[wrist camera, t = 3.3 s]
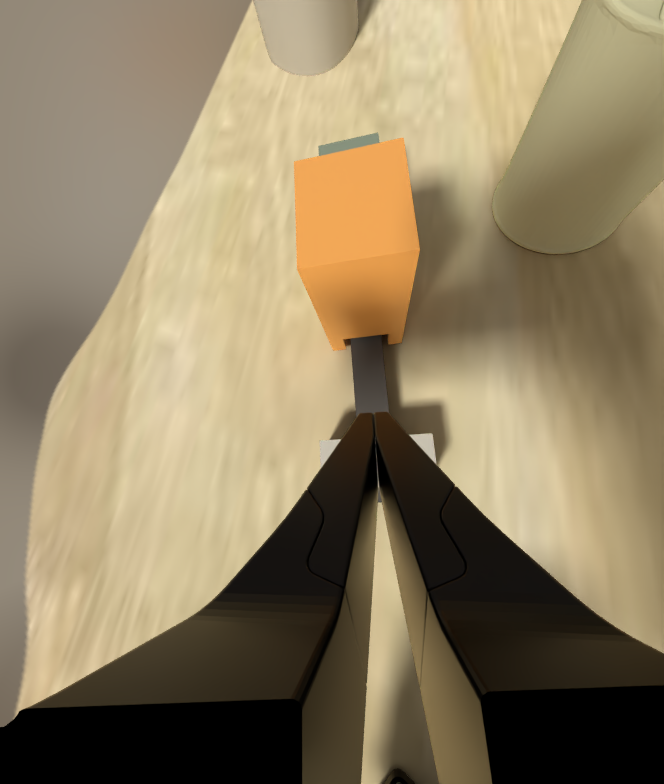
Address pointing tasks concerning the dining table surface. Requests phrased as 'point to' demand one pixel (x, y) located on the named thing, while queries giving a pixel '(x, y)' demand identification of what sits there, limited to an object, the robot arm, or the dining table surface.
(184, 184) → the dining table surface
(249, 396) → the dining table surface
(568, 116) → the can
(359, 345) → the toy mallet
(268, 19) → the lumpy-topped squat cylinder
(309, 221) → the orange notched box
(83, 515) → the dining table surface
